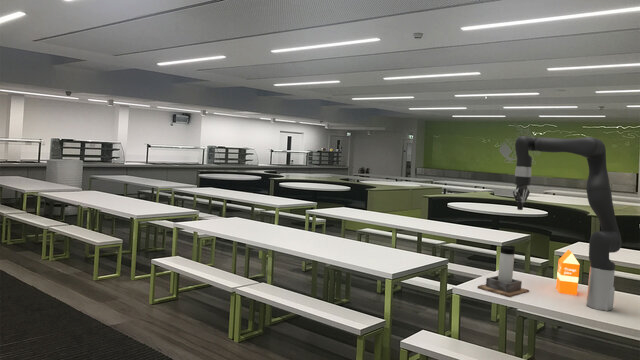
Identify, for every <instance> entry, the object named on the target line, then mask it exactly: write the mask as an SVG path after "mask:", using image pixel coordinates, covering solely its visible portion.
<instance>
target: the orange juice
mask: <svg viewBox="0 0 640 360" xmlns="http://www.w3.org/2000/svg"><path fill="white" fill-rule="evenodd" d="M557 263H558V265H557V273H556V285H555V289H556V290H557V292H558V293H559V294H564V295H565V294H566V295H572V296H573V295H574V296H577V295H578V287H579V276H580V265H581V264H580V263H579V261H578V260H577V258H576V257H575V255H574V253H573V252H572V251H571V250H570V249H567V250H566V251H565V252H564V253H563V255H562V256H561V257H560V258H558V262H557Z"/></svg>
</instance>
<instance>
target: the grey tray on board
mask: <svg viewBox="0 0 640 360" xmlns="http://www.w3.org/2000/svg"><path fill="white" fill-rule="evenodd" d="M522 282H523V281H522V280H519V279H514V278H512V282H511V283H505V282H502V281H498V275H495V276H491V277H486V282H485V283H484V284H481V285H477V289H480V290H482V291H487V292H490V293H493V294H495V295H496V294H497V295H500V296H504V297H506V298H512V297H516V296H519V295H523V294H527V293H529V292H530V290H529V289H527V288H525V287H524V288H523V287H522Z"/></svg>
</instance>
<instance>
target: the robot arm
mask: <svg viewBox="0 0 640 360" xmlns="http://www.w3.org/2000/svg"><path fill="white" fill-rule="evenodd" d="M514 147H515V148H514V149H515V156H516V165H515V171H514V183H513V184H514V185H516V187H515V190H513V191H512V195H513V196H514V200H515V202H517V208H516V209H517V210H518V211H522V210H523V209H524V204H525V202H527V199H528V197H529V196H530V191H528V187H529V186H531V182H532V166H533V165H532V163H533V158H532V156H531V155H530V154H529V152H533V151H534V152H543V153H544V152H545V153H568V154H569V153H570V154H574V155H578V156H581V157H583V158H586V160H587V166H588V177H587V182H586V185H585V186H586V187H585V188H586V195H587V201H588V205H589V207H590V208H591V210H592V211H593V212H594V215H596V217H597V219H598V222H599V226H600V230H598V231H595V232H593V233H592V234H591V235H590V237H589V245H588V260H589V263H590V264H589V274H588V284H587V295H586V306H587V307H589V308H592V309H595V310H599V311H606V312H608V311H610V310H611V311H612V310H613V309H614V302H615V301H614V300H615V291H616V288H615V286H614V283H615V282H614V281H615V272H616V263H615V262H613V261H612V260H611V259H610V253H617V252H619V251H620V249H621V248H622V245H623V243H622V237H621V232H620V230H619V229H620V228H619V226H618V223H617V219H616V218H617V217H616V214H615V209H614V204H613V203H614V202H613V195H612V189H611V185H610V179H609V174H608V169H607V154H606V151H607V149H606V146H605V142H603V140H601V139H599V138H595V137H592V136H586V137H579V138H558V137H545V136H544V137H543V136H541V137H536V136H535V137H534V136H526V135H521V136H519V137H517V138H516V140H515V144H514Z"/></svg>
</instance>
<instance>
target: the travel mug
mask: <svg viewBox="0 0 640 360" xmlns="http://www.w3.org/2000/svg"><path fill="white" fill-rule="evenodd" d="M515 248H516V246H515V245H502V246H501V247H500V253H499V261H498V262H499V263H498V273H497V274H498V275H497V276H498V281H502V282H505V283H511V282H512V279H513V275H514V265H515V263H514V262H515V250H516V249H515Z"/></svg>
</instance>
